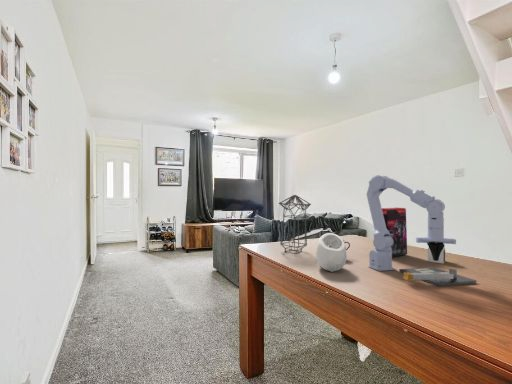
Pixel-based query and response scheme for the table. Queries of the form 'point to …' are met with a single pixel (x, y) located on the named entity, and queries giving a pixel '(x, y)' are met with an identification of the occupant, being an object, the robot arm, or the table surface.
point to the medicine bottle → (441, 257)
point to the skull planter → (331, 252)
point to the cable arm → (431, 275)
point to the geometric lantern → (294, 222)
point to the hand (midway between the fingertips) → (435, 260)
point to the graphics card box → (396, 229)
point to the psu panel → (440, 282)
